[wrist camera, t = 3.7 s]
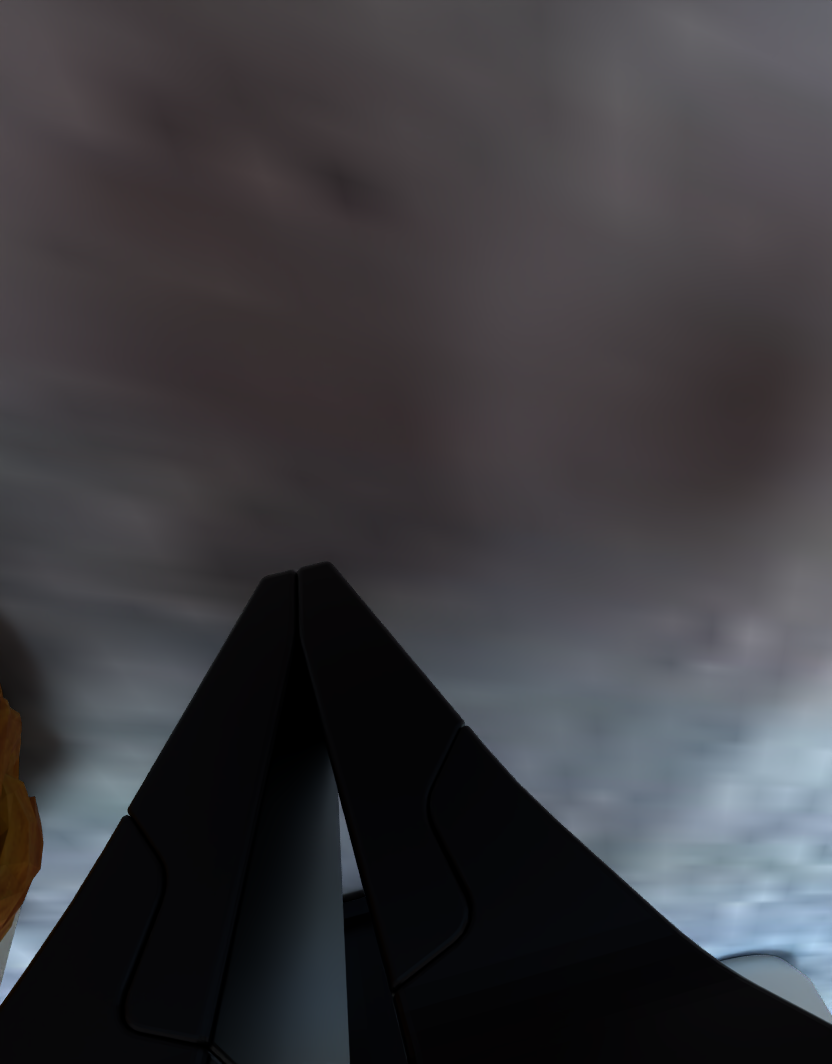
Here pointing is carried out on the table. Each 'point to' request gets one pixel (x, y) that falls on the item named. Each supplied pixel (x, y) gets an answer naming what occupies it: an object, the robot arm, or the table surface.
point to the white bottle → (781, 981)
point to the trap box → (7, 945)
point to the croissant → (15, 822)
